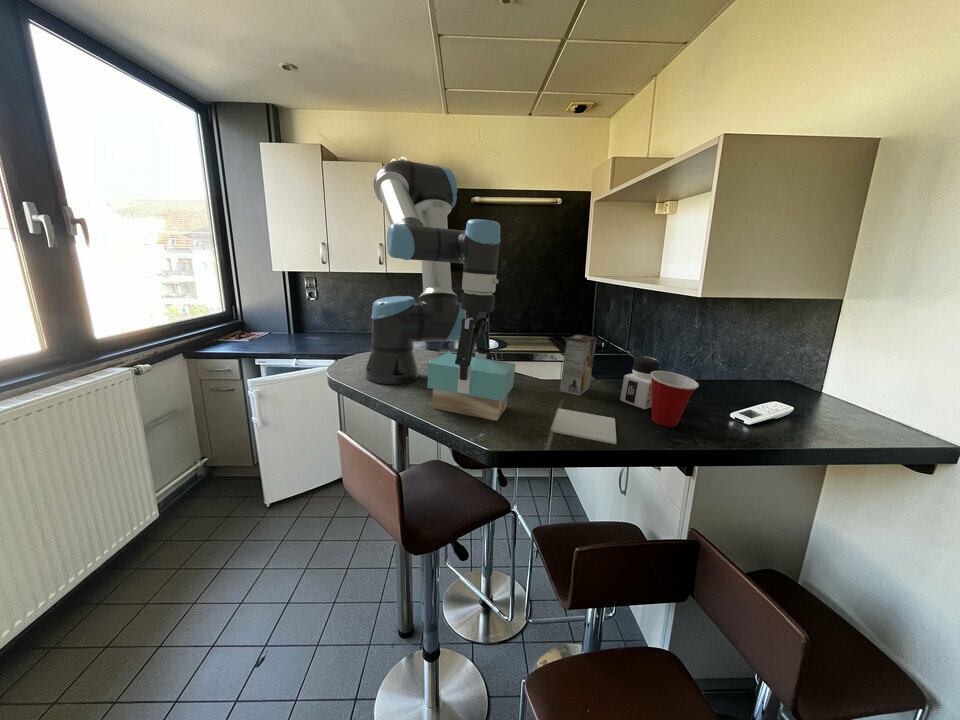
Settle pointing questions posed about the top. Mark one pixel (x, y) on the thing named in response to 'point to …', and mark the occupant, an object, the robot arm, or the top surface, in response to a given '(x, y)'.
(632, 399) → the container
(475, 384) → the lid
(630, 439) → the top surface
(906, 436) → the top surface
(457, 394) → the box
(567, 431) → the mat
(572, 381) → the coffee box
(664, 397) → the plastic cup
